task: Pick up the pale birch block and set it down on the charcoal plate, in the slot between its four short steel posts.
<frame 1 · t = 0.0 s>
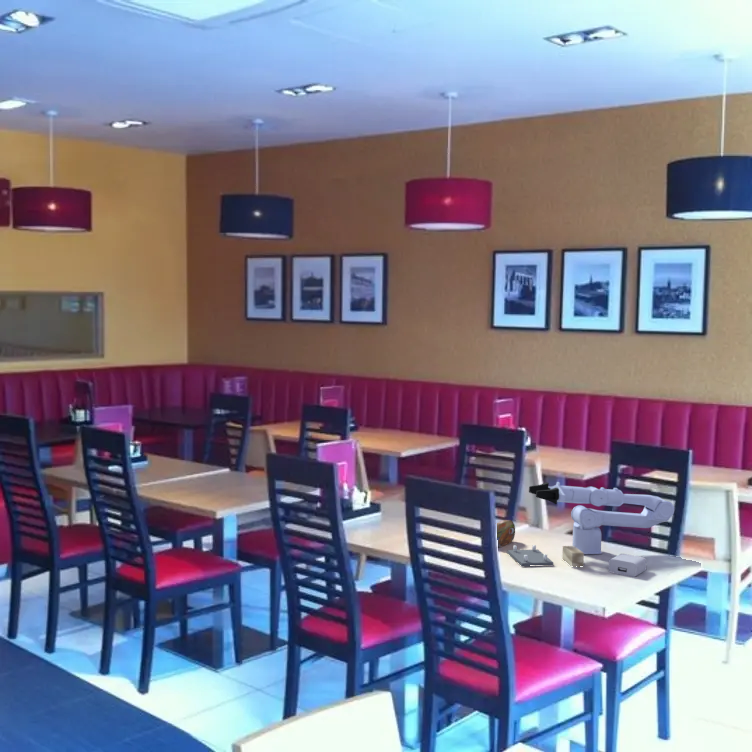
hand: (532, 491, 322), 22 cm above the table, tool horizontal, fingers open, 7 cm apart
charger: (630, 570, 306), on the table
birch block: (572, 564, 312), on the table
tin: (501, 545, 335), on the table
standoff plate: (529, 559, 316), on the table
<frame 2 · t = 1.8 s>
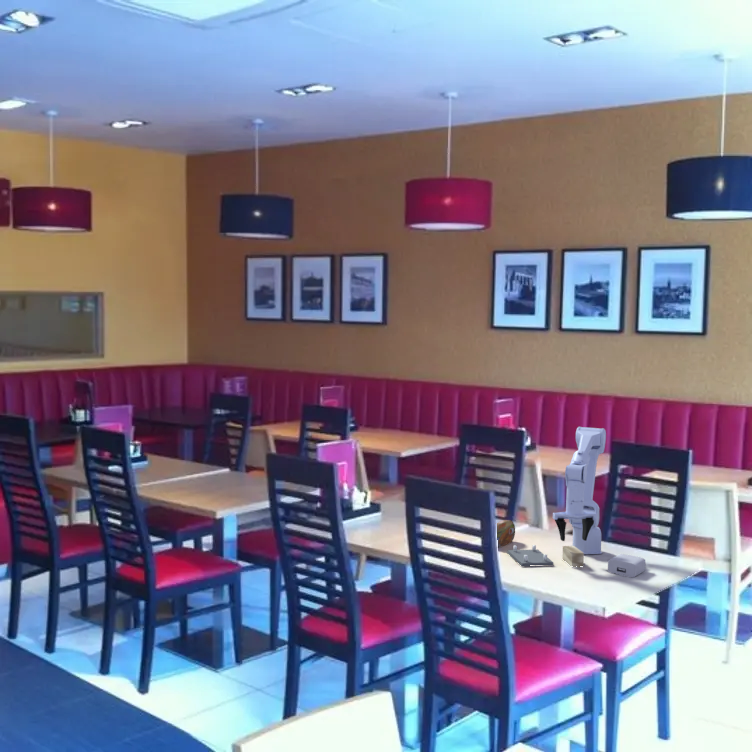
hand: (573, 540, 311), 8 cm above the table, tool pointing down, fingers open, 7 cm apart
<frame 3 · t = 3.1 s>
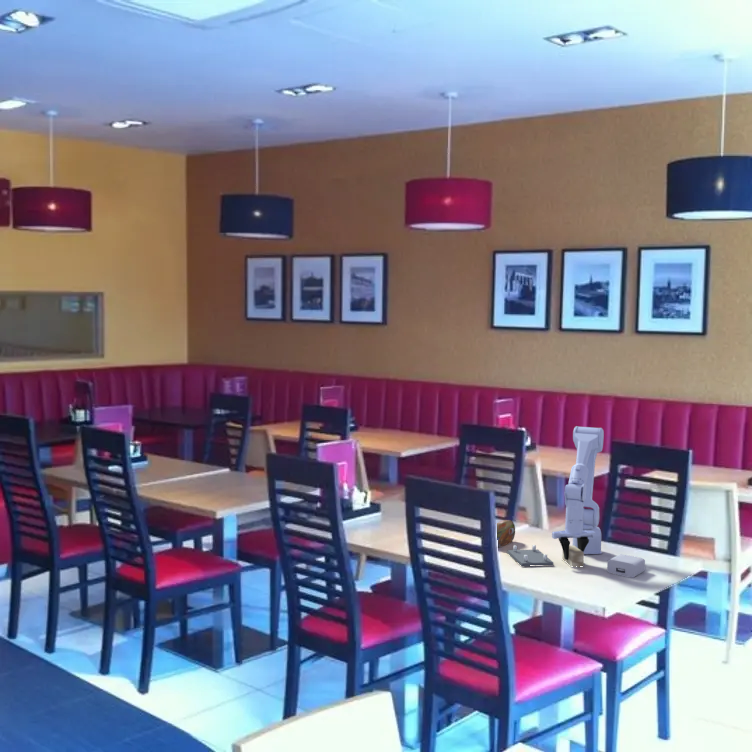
hand: (572, 558, 312), 2 cm above the table, tool pointing down, fingers closed on birch block, 4 cm apart
birch block: (572, 563, 312), on the table, touching gripper
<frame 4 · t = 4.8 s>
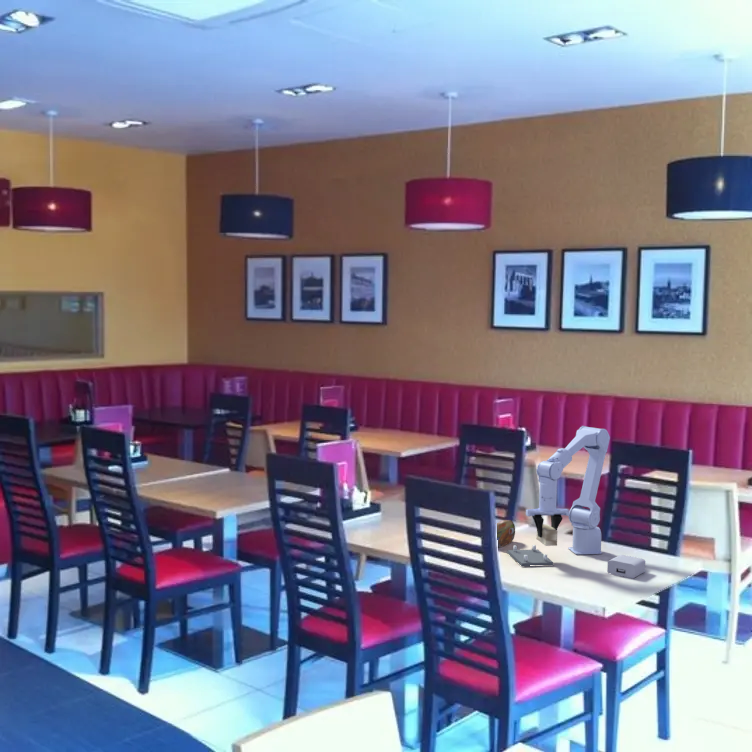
hand: (546, 536, 313), 8 cm above the table, tool pointing down, fingers closed on birch block, 4 cm apart
birch block: (546, 542, 313), point 7 cm above the table, touching gripper
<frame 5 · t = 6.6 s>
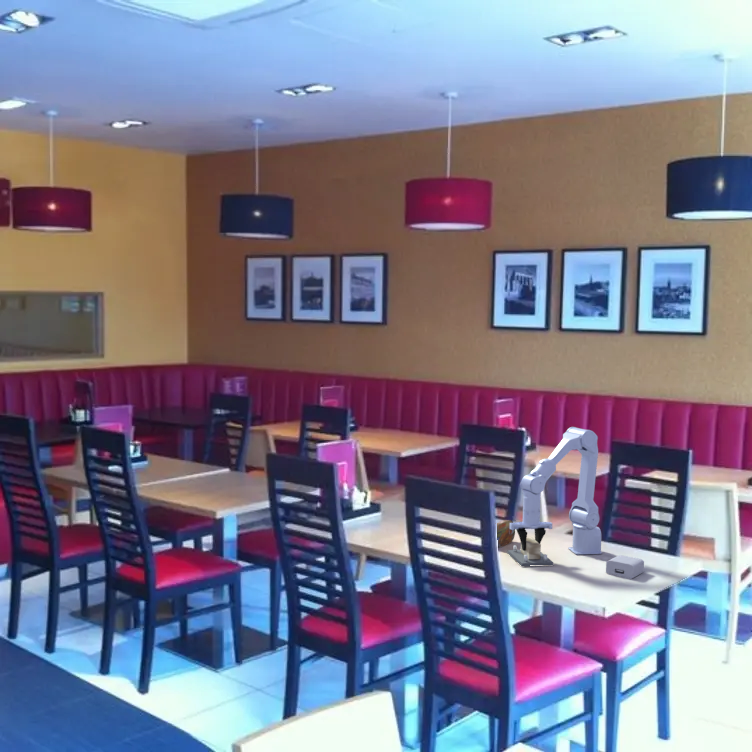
hand: (530, 549, 315), 3 cm above the table, tool pointing down, fingers closed on birch block, 4 cm apart
birch block: (530, 555, 315), point 1 cm above the table, touching gripper
when the fingers open (3 cm above the table, at t = 6.9 s): birch block stays where it is, resting on standoff plate.
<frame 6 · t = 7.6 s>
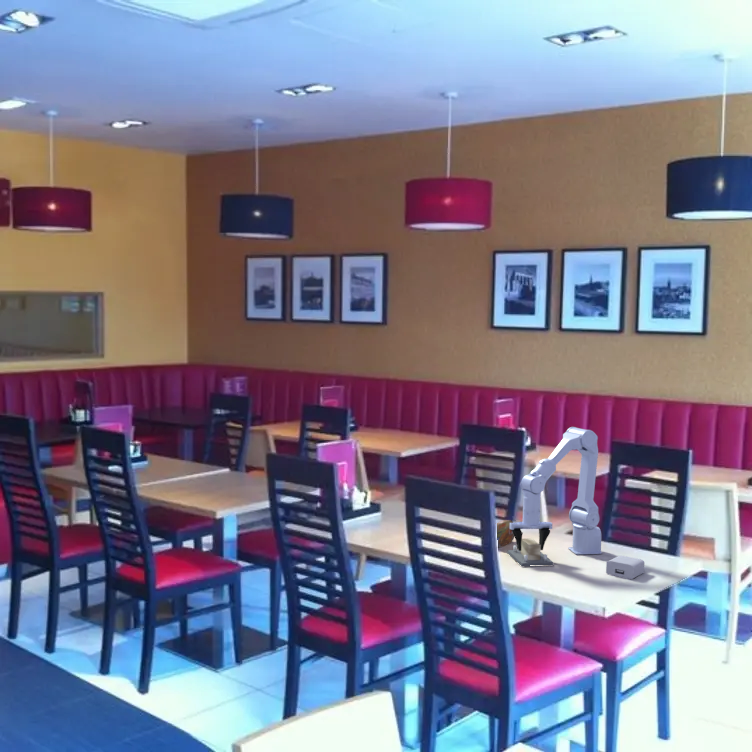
hand: (530, 549, 315), 3 cm above the table, tool pointing down, fingers open, 7 cm apart
birch block: (530, 556, 315), point 1 cm above the table, touching standoff plate
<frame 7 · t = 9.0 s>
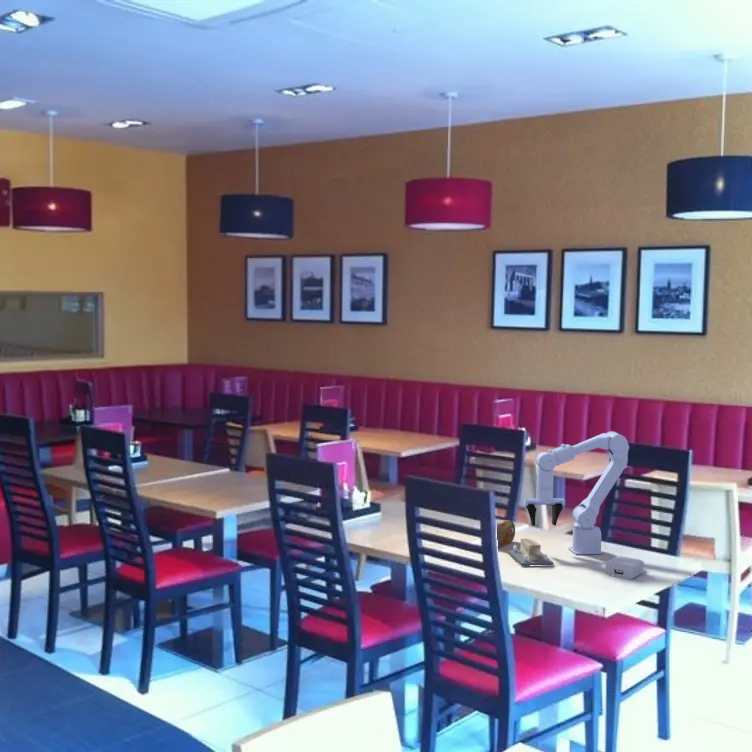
hand: (543, 525, 326), 9 cm above the table, tool pointing down, fingers open, 7 cm apart
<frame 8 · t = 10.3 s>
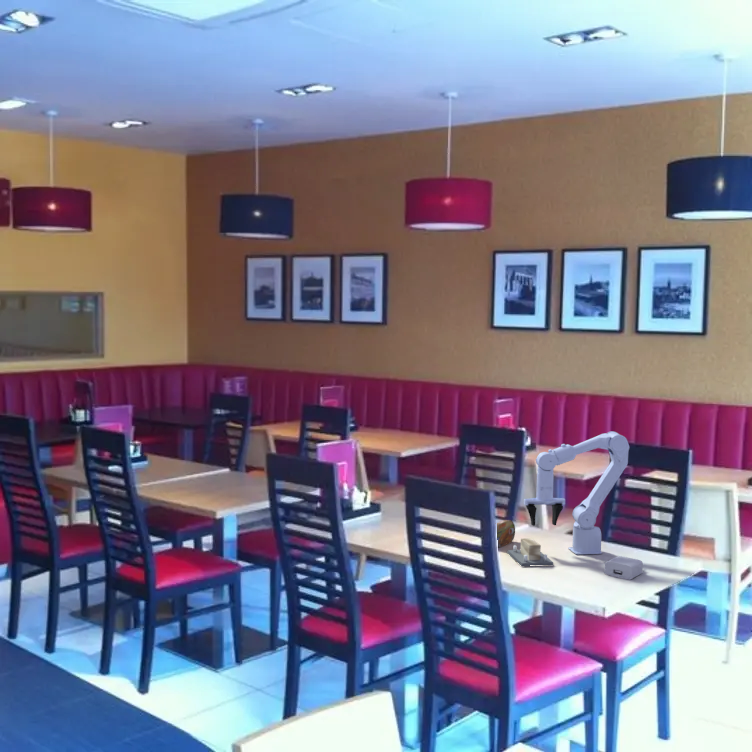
hand: (543, 524, 326), 9 cm above the table, tool pointing down, fingers open, 7 cm apart
at the end: birch block 0.2 cm off-centre on the standoff plate, point 1.2 cm above the standoff plate's base; birch block tilted 0°; the gripper is holding nothing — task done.
